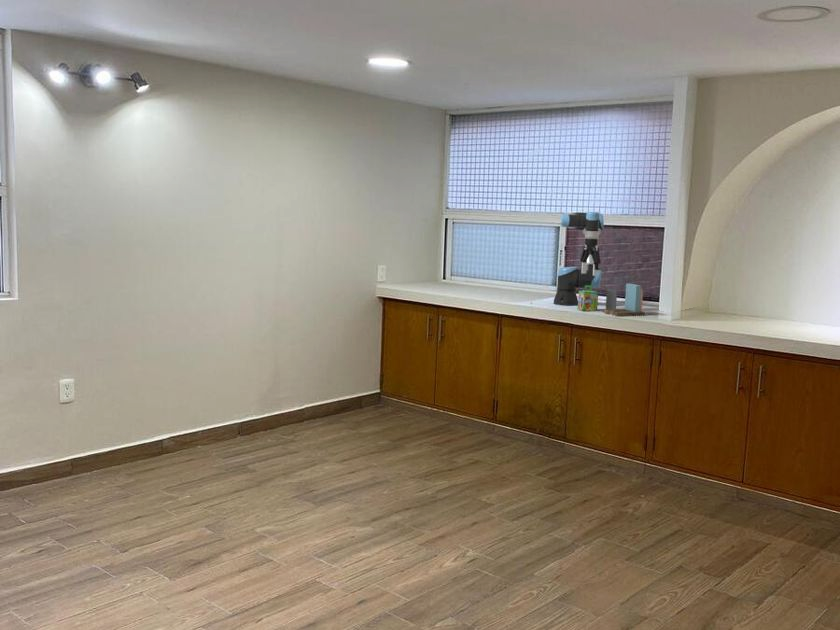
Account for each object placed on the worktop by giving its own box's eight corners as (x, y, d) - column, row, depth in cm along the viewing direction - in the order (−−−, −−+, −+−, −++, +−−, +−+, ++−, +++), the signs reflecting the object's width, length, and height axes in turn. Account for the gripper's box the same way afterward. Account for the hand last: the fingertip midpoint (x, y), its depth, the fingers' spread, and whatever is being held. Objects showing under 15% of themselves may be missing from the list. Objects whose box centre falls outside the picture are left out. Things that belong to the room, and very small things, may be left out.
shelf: (602, 312, 471) (602, 308, 471) (629, 311, 476) (629, 308, 476) (616, 316, 456) (616, 312, 456) (644, 315, 461) (644, 312, 461)
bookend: (605, 309, 468) (606, 289, 466) (606, 309, 468) (608, 289, 467) (614, 312, 459) (615, 291, 457) (615, 312, 459) (617, 291, 457)
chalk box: (583, 311, 473) (584, 286, 471) (577, 309, 482) (578, 284, 480) (597, 311, 475) (599, 286, 472) (591, 309, 484) (593, 284, 481)
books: (624, 309, 472) (626, 283, 470) (631, 309, 474) (633, 283, 471) (634, 311, 462) (636, 285, 460) (642, 311, 463) (643, 285, 461)
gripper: (575, 237, 483) (573, 272, 486) (596, 239, 459) (594, 276, 462) (586, 237, 485) (584, 272, 488) (608, 239, 461) (605, 276, 464)
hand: (589, 274), depth 475 cm, fingers open, 13 cm apart
